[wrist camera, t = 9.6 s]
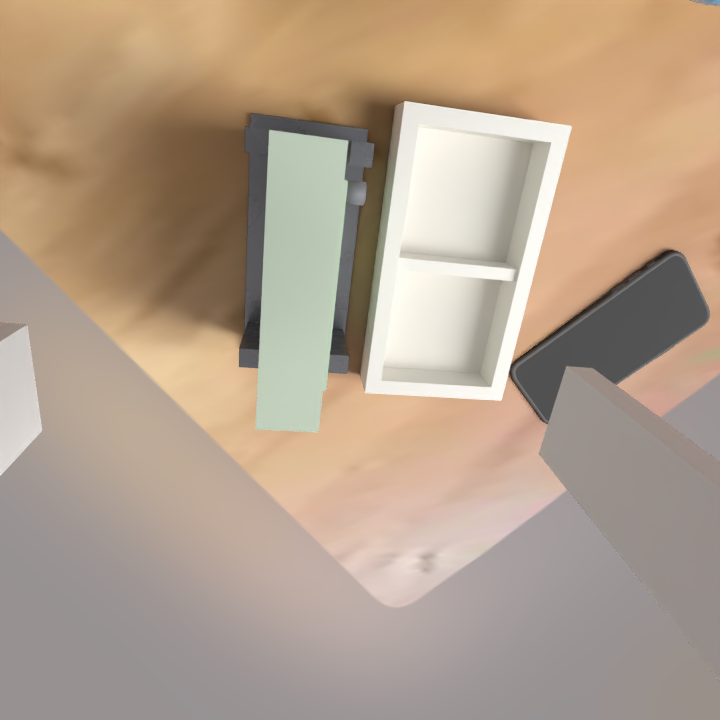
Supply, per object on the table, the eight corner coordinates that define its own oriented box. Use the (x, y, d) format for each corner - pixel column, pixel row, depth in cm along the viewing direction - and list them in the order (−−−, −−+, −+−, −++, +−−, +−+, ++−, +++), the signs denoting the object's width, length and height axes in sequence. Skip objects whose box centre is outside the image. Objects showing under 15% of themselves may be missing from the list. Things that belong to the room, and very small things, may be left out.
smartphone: (505, 370, 37) (681, 244, 34) (500, 365, 38) (672, 242, 35) (550, 431, 40) (716, 319, 37) (545, 425, 41) (707, 316, 38)
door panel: (329, 345, 35) (343, 433, 24) (269, 340, 34) (255, 429, 23) (349, 148, 30) (378, 145, 19) (280, 138, 29) (269, 129, 18)
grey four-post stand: (251, 113, 29) (241, 105, 24) (367, 129, 30) (380, 125, 25) (244, 348, 34) (235, 380, 30) (342, 355, 35) (348, 386, 31)
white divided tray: (395, 106, 29) (404, 100, 27) (547, 128, 31) (571, 126, 28) (360, 374, 36) (364, 392, 33) (486, 382, 38) (501, 400, 35)
